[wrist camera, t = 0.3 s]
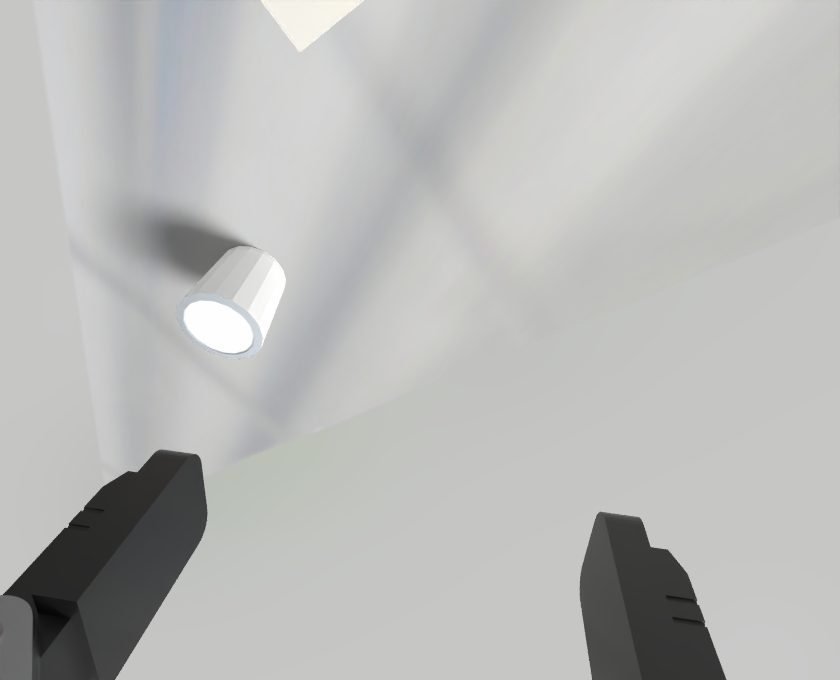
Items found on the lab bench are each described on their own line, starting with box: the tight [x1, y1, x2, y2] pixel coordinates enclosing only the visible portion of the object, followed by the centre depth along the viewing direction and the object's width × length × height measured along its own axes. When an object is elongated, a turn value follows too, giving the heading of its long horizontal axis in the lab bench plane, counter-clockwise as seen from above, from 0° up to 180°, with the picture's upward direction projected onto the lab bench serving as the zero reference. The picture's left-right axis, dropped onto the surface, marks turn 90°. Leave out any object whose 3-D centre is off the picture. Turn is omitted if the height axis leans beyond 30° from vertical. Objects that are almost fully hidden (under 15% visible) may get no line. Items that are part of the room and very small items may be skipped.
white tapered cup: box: [176, 246, 286, 359], centre depth 46 cm, size 7×7×7 cm
